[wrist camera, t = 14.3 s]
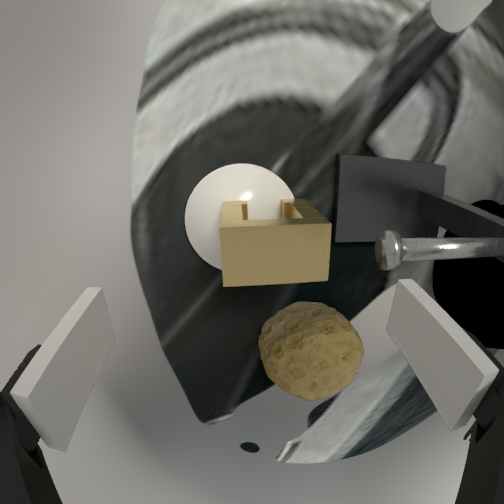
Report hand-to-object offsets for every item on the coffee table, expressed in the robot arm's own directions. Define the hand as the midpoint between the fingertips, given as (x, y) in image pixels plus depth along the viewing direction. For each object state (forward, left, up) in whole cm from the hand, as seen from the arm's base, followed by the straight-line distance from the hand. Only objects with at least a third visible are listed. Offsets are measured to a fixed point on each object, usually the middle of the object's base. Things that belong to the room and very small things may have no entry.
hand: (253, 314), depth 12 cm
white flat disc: (0, 0, -16) cm, 16 cm away
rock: (+13, +6, -16) cm, 22 cm away
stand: (-2, +14, -16) cm, 21 cm away
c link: (0, +2, -15) cm, 15 cm away
